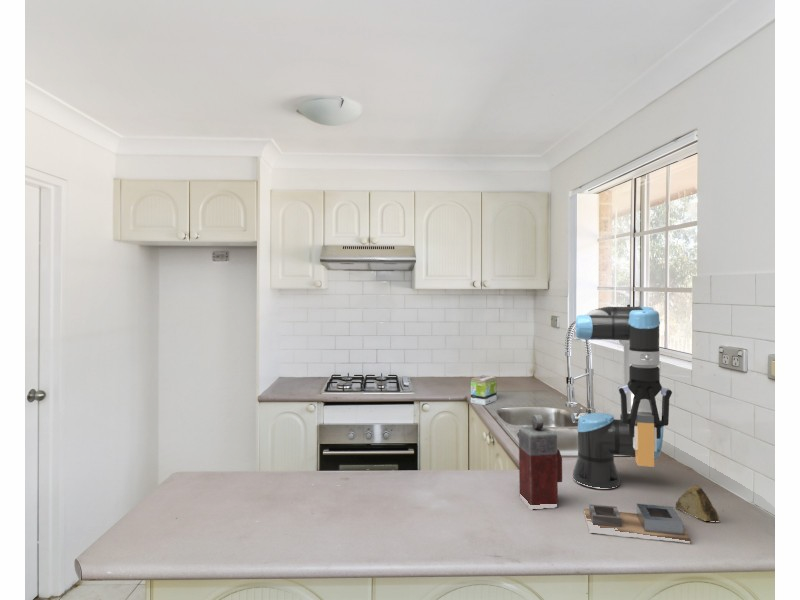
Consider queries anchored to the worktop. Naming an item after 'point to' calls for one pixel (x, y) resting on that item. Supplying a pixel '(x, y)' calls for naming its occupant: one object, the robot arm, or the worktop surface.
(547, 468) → the red rectangular canister
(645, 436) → the plug
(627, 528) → the board
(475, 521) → the worktop surface
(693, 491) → the rock
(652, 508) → the port
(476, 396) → the tea box
